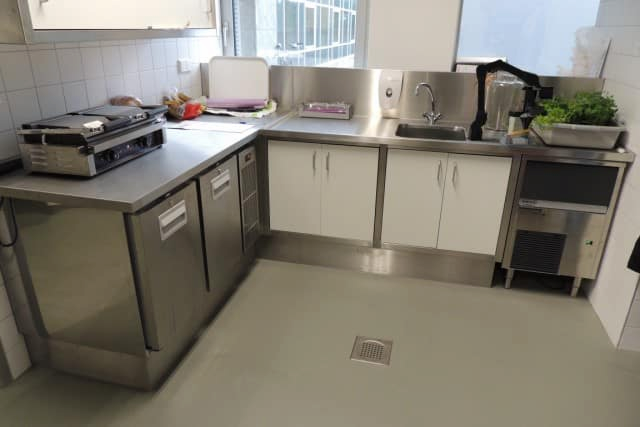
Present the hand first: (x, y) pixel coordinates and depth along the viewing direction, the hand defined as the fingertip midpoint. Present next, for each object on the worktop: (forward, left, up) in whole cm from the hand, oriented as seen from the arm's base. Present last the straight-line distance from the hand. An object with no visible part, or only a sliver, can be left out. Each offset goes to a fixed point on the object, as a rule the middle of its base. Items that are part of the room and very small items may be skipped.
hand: (525, 129), depth 243 cm
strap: (-4, 0, -2) cm, 5 cm away
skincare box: (+4, +17, -8) cm, 19 cm away
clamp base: (-4, 0, -8) cm, 8 cm away
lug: (+1, -4, -8) cm, 9 cm away
